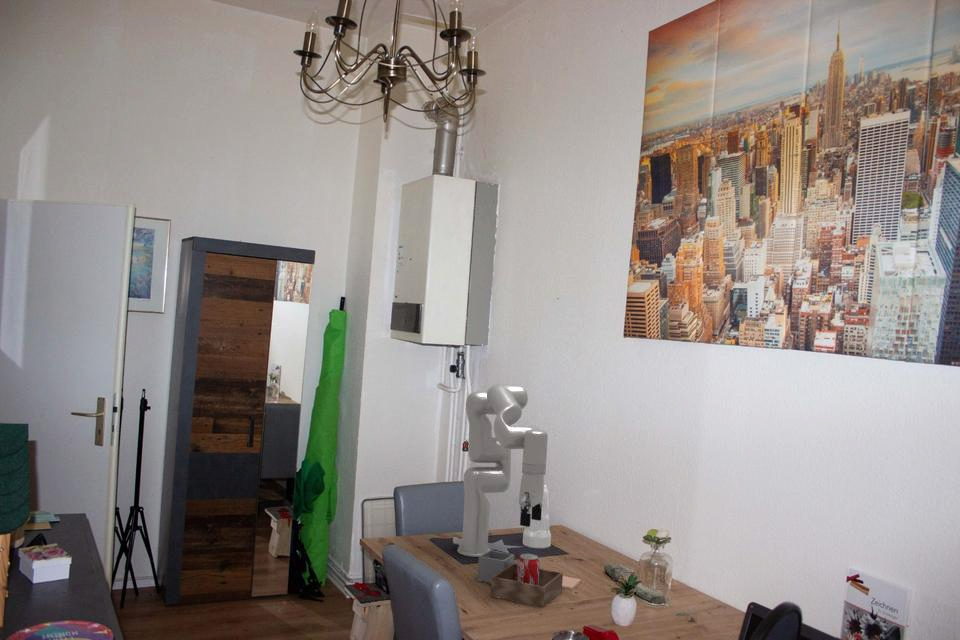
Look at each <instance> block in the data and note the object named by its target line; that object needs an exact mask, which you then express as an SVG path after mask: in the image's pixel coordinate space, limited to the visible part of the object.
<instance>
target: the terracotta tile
mask: <svg viewBox="0 0 960 640" xmlns="http://www.w3.org/2000/svg"><path fill="white" fill-rule="evenodd" d="M580 582H581V583H582V579H580V578H576V577H575V578H574V577H570V576H566V575H565V576H564V575H563V581H562V589H564V588H565V590H569V591H573V590H574V589H575V588H576V587H578V586H579V584H580Z"/></svg>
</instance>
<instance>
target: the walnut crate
mask: <svg viewBox="0 0 960 640" xmlns="http://www.w3.org/2000/svg"><path fill="white" fill-rule="evenodd" d="M517 565H518V563H515V562H514V563H513V564H511V565H510V566H508V567H506V568H505V569H503V570H502V571H500V572H499V573H497V574H496V575H494V576H492V582H491V583H490V584H491V585H490V586H491V587H490V596H491V595H492V596H496V597H495V598H497V597H500V598H499V599H501V598H504V599H503V600H506V599H508V600H507V601H511V600H513V601H512V602H515V601H518V602H517V603H521V604H524V603H525V605H530V606H535V607H538V608H545V606H547V605H548V604H549V603H550V602H552V601H553V600H554V599H555V598H556V597H557V596H558V595H560V594H561V593H562V591H563V588H562V581H563V576H564V572H559V571H555V570H550V569H544V568H540V569H539V585H538V586H537V585H532V584H527V583H523V582H518V581H516V580H517ZM492 596H491V597H492Z"/></svg>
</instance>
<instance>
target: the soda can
mask: <svg viewBox="0 0 960 640" xmlns="http://www.w3.org/2000/svg"><path fill="white" fill-rule="evenodd" d="M517 564H518V565H517V580H516V581H518V582H523V583H527V584H532V585H537V586H538V585H539V569H541V568H540V565H541V564H540V560H539V555H536V554H533V553H521V554H520V555H519V558H518V559H517Z"/></svg>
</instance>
